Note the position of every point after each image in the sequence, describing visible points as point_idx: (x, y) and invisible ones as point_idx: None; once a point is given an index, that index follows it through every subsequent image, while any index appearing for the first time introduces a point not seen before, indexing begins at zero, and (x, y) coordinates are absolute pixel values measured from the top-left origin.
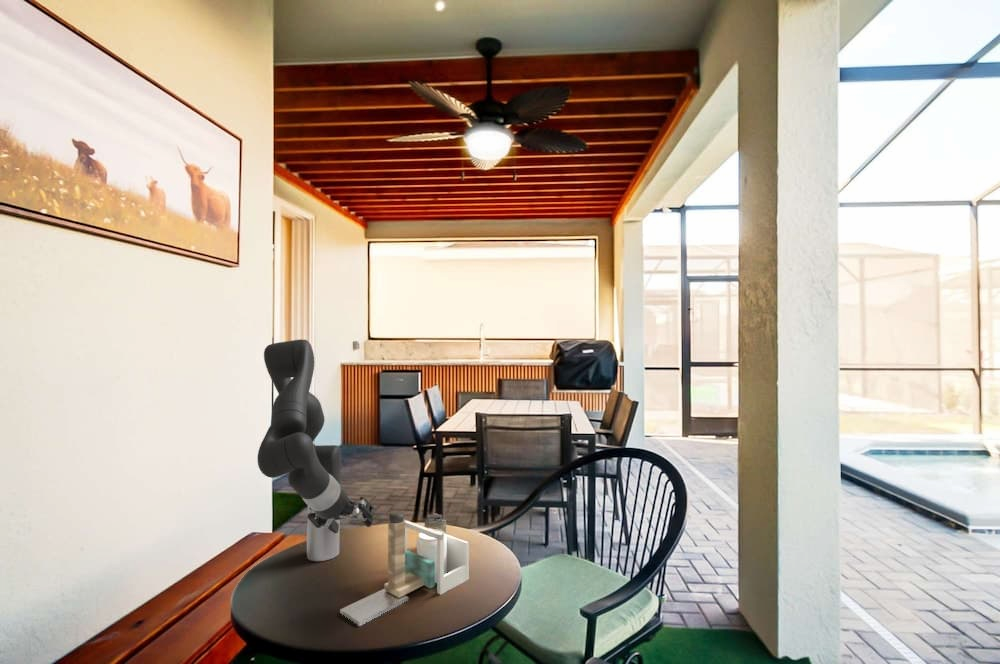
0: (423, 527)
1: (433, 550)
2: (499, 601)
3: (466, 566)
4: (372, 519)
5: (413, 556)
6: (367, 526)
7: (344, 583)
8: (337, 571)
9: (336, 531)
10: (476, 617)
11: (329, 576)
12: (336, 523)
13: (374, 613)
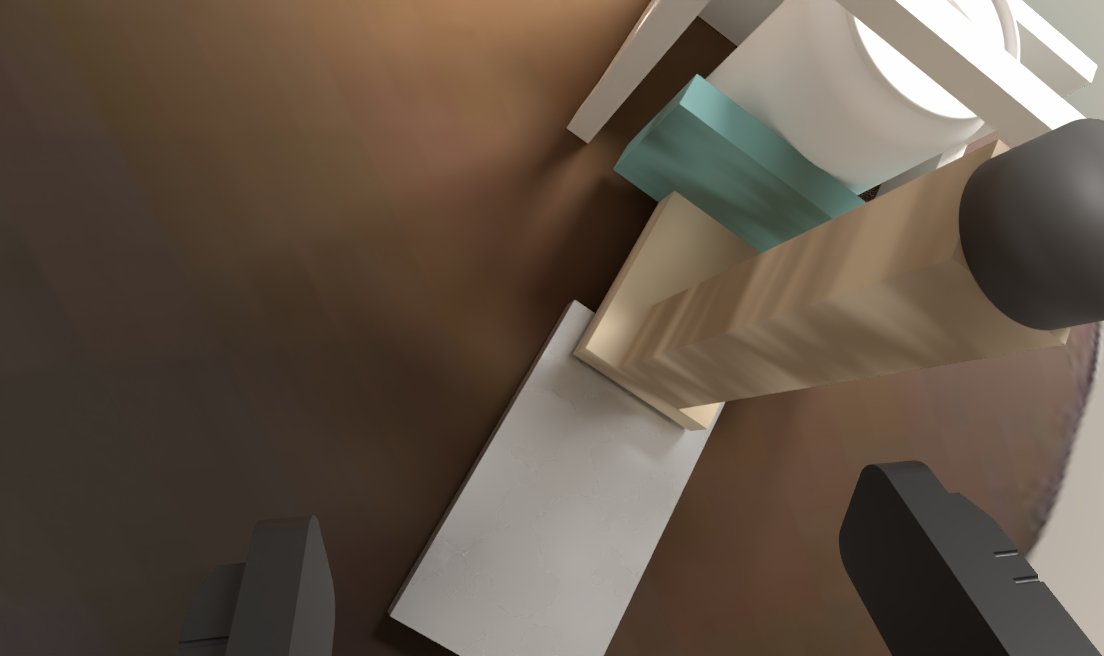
0: (1000, 59)
1: (925, 160)
2: (1077, 350)
3: (963, 143)
4: (956, 500)
5: (771, 172)
6: (862, 583)
7: (233, 240)
8: (89, 71)
9: (328, 639)
10: (1037, 496)
11: (58, 146)
12: (301, 610)
13: (619, 611)
